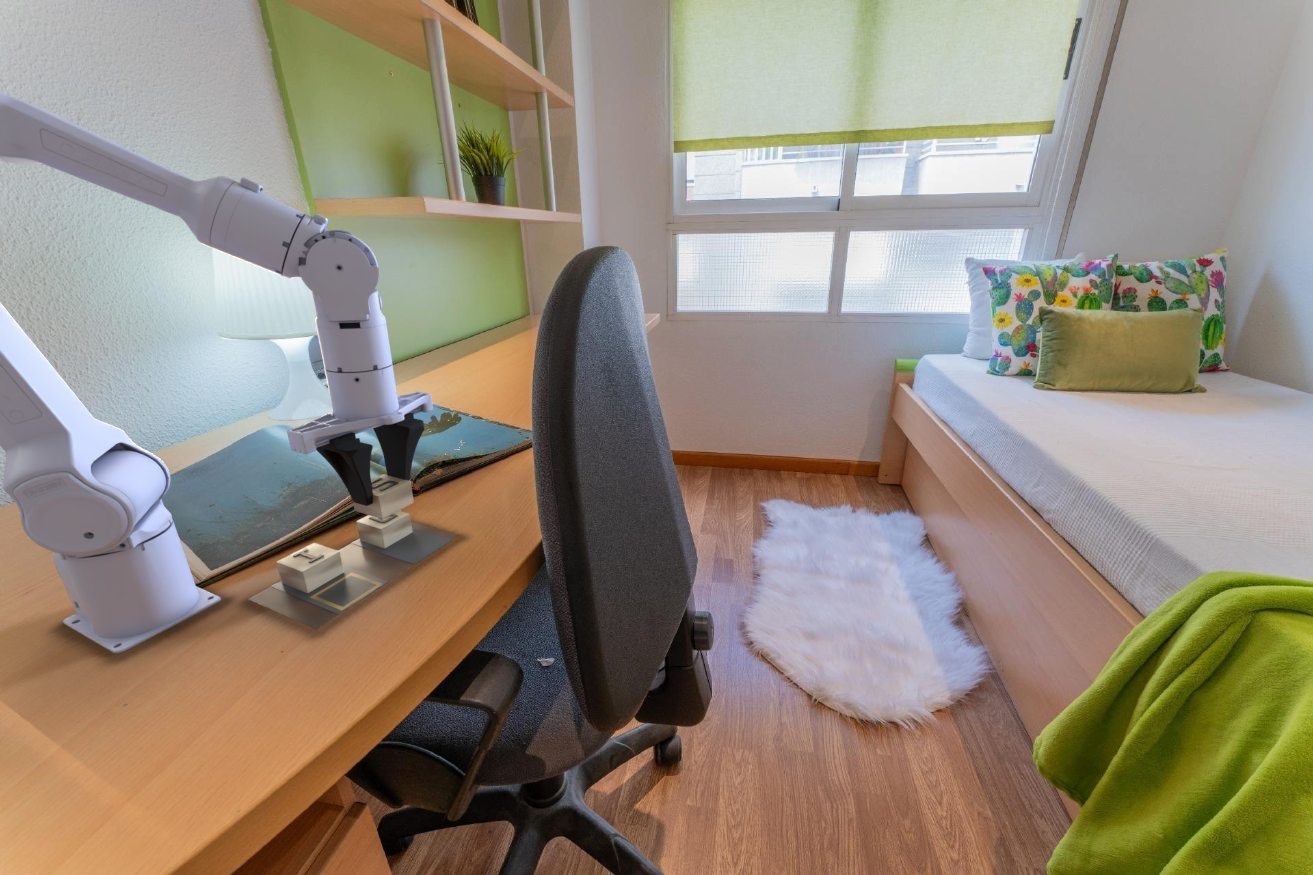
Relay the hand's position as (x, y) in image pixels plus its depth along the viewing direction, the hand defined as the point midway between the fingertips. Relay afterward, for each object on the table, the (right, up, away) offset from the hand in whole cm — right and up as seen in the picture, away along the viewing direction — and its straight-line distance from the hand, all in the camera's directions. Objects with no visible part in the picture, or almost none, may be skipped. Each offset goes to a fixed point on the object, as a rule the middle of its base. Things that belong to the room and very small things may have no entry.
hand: (381, 493), depth 54 cm
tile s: (0, -1, +1) cm, 2 cm away
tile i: (-7, -9, 0) cm, 11 cm away
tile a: (-3, -6, +8) cm, 10 cm away
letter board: (-3, -8, +2) cm, 9 cm away
